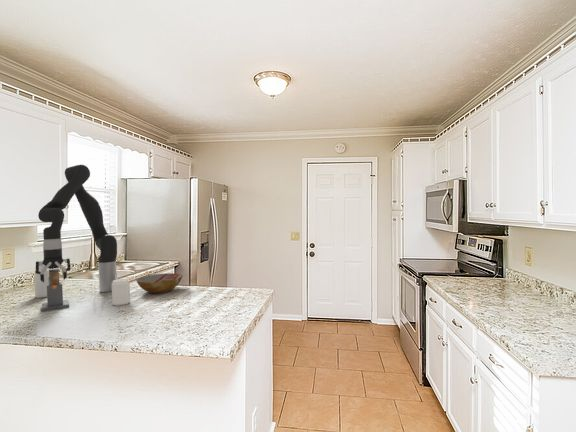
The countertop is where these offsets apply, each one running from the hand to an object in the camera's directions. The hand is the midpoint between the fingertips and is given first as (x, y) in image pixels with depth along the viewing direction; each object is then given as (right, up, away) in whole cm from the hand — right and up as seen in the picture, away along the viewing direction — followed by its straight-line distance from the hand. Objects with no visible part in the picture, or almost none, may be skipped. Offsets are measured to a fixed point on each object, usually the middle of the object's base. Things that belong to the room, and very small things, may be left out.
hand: (53, 280), depth 165 cm
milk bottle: (-22, -14, +23) cm, 34 cm away
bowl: (+43, -12, +27) cm, 52 cm away
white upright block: (+32, -13, +3) cm, 35 cm away
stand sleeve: (+1, -13, 0) cm, 13 cm away
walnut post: (+1, -12, 0) cm, 12 cm away
